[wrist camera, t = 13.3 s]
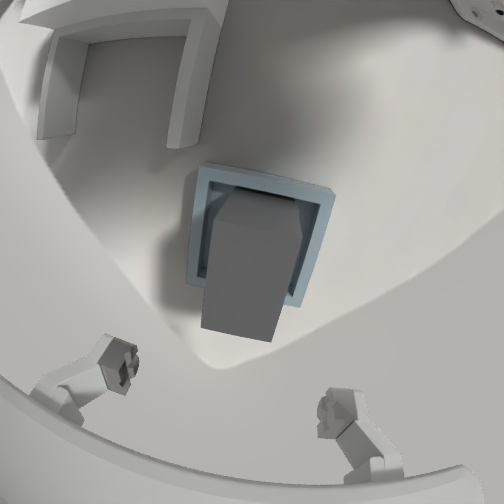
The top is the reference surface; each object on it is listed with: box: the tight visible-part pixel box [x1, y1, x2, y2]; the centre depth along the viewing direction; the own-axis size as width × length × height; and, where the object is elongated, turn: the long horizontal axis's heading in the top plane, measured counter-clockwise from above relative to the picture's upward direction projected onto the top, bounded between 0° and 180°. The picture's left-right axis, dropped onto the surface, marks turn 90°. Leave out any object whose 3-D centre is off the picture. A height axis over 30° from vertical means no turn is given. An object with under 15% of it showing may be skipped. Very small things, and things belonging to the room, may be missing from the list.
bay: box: [18, 0, 229, 149], centre depth 14 cm, size 15×18×10 cm
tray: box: [186, 162, 336, 307], centre depth 25 cm, size 11×11×2 cm
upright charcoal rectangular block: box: [201, 186, 303, 342], centre depth 21 cm, size 5×8×9 cm, turn 169°
